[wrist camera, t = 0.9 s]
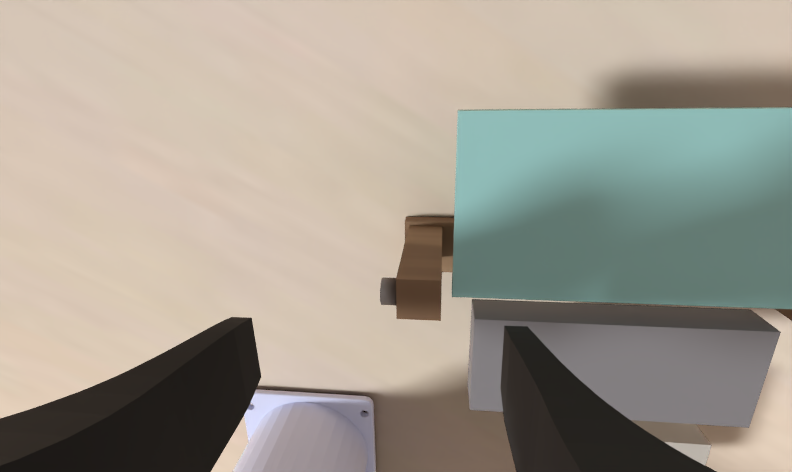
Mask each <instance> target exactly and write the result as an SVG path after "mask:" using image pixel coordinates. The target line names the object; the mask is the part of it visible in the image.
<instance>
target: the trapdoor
mask: <svg viewBox="0 0 792 472" xmlns="http://www.w3.org/2000/svg"><path fill="white" fill-rule="evenodd" d="M452 297H472V298H499V299H526V300H553V301H580V302H607V303H635V304H662V305H689V306H716V307H743V308H771V309H792V107H748V108H623V109H498V110H458V122H457V152H456V182H455V212H454V243H453V273H452ZM504 326H528V328H529V329H530V330H531V331H532V332H533V333H534V334H535V335H536V336H537V337H538V338H539V339H540V340H541V341H542V343H543V344H544V345H545V346H546V347H547V348H548V349H549V350H550V351H551V352H552V353H553V354H554V355H555V356H556V357H557V358H558V360H559V361H560V362H561V363H562V364H563V365H565V366H566V367H567V368H568V369H569V370H570V371H571V372H572V373H573V374H574V375H575V376H576V377H577V378H578V379H579V380H580V381H582V382H583V383H584V384H585V385H586V386H587V387H588V388H590V389H591V390H592V391H593V392H594V393H595V394H597V395H598V396H599V397H600V398H601V399H603V400H604V401H605V402H606V403H608V404H609V405H610V406H612V407H613V408H614V409H616V410H617V411H619V412H620V413H621V414H623V415H624V416H625V417H627V418H628V419H629V420H637V421H653V422H669V423H684V424H700V425H716V426H731V427H747V428H749V426H750V423H751V420H752V417H753V414H754V411H755V408H756V405H757V402H758V399H759V396H760V393H761V390H762V387H763V384H764V381H765V378H766V375H767V372H768V369H769V366H770V363H771V360H772V357H773V354H774V351H775V348H776V345H777V342H778V339H779V336H780V333H781V332H780V331H778V330H777V329H776V328H774V327H773V326H772V325H770V324H769V323H768V322H766V321H765V320H764V319H762V318H761V317H760V316H758V315H757V314H756V313H754V312H753V311H752V310H748V309H721V308H694V307H667V306H641V305H614V304H587V303H560V302H533V301H506V300H479V299H472V310H471V330H470V349H469V369H468V395H469V408H470V410H480V411H496V412H503V406H502V397H501V389H500V386H501V371H502V355H503V340H504Z"/></svg>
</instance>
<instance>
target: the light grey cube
mask: <svg viewBox="0 0 792 472" xmlns="http://www.w3.org/2000/svg"><path fill="white" fill-rule="evenodd" d="M631 421H632V422H634V423H635V424H637V425H638V426H640V427H641V428H643V429H644V430H646V431H647V432H649V433H650V434H652V435H654V436H655V437H657V438H658V439H660V440H662V441H663V442H665V443H666V444H668V445H669V446H671V447H673V448H674V449H676V450H678V451H680V452H681V453H683V454H685V455H687V456H688V457H690V458H692V459H694V460H696V461H697V462H699V463H701V464H703V465H706V462H707V459H708V455H709V452H710V449H711V444H710V442H709V441H708V440H707V438H706V437H705V436H704V434H703V433H702V431H701V430H700V429H699V427H698V426H697V425H696V424H684V423H669V422H653V421H637V420H631Z"/></svg>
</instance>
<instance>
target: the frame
mask: <svg viewBox="0 0 792 472" xmlns="http://www.w3.org/2000/svg"><path fill="white" fill-rule="evenodd" d="M453 243H454V218H452V217H406V220H405V245H404V249H403V253H402V257H401V261H400V265H399V269H398V273H397V277H396V278H382V280H381V288H380V301H381V305H396V307H397V319H415V320H438V321H441V279H442V272H453ZM776 310H777V311H779V312H780V313H782V314H783V315H784V316H786V317H787V318H789V319H790V320H792V309H776Z"/></svg>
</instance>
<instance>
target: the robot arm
mask: <svg viewBox="0 0 792 472" xmlns="http://www.w3.org/2000/svg"><path fill="white" fill-rule="evenodd" d="M260 378H261V373H260V367H259V361H258V355H257V348H256V342H255V336H254V330H253V324H252V318H239V317H231V318H229V319H226V320H224V321H222V322H220V323H218V324H216V325H214V326H212V327H210V328H208V329H207V330H205V331H203V332H201V333H199V334H197V335H196V336H194V337H192V338H190V339H188V340H186V341H185V342H183V343H181V344H179V345H177V346H176V347H174V348H172V349H170V350H168V351H166V352H164V353H162V354H160V355H159V356H157V357H155V358H153V359H151V360H149V361H147V362H145V363H143V364H141V365H139V366H137V367H135V368H133V369H131V370H129V371H127V372H125V373H122V374H120V375H118V376H116V377H114V378H111V379H109V380H107V381H104V382H102V383H100V384H97V385H95V386H93V387H90V388H88V389H85V390H83V391H80V392H78V393H75V394H72V395H69V396H67V397H64V398H61V399H58V400H55V401H53V402H50V403H47V404H44V405H42V406H39V407H36V408H33V409H30V410H27V411H24V412H20V413H17V414H14V415H11V416H8V417H4V418H1V419H0V472H211V470H212V468H213V467H214V465H215V463H216V462H217V460H218V458H219V457H220V455H221V453H222V452H223V450H224V448H225V447H226V445H227V443H228V442H229V440H230V438H231V436H232V435H233V433H234V431H235V430H236V428H237V426H238V425H239V423H240V421H241V419H242V418H243V416H245V422H246V428H247V434H248V440H249V442H248V444H247V446H246V448H245V449H244V451H243V453H242V455H241V457H240V459H239V460H238V462H237V464H236V466H235V468H234V470H233V472H376V455H375V430H374V405H373V401H372V399H371V398H369V397H367V396H355V395H339V394H323V393H307V392H291V391H274V390H258V389H256V388H257V386H258V383H259V381H260ZM500 389H501V397H502V406H503V414H504V422H505V426H506V431H507V435H508V439H509V443H510V447H511V451H512V456H513V460H514V464H515V468H516V472H716V471H714V470H712V469H711V468H709V467H707V466H705V465H703V464H701V463H699V462H697V461H696V460H694V459H692V458H690V457H688V456H687V455H685V454H683V453H681V452H680V451H678V450H676V449H674V448H673V447H671V446H669V445H668V444H666V443H665V442H663V441H662V440H660V439H658V438H657V437H655V436H654V435H652V434H650V433H649V432H647V431H646V430H644V429H643V428H641V427H640V426H638V425H637V424H635V423H634V422H632V421H631V420H629V419H628V418H627V417H625V416H624V415H623V414H621V413H620V412H619V411H617V410H616V409H614V408H613V407H612V406H610V405H609V404H608V403H606V402H605V401H604V400H603V399H601V398H600V397H599V396H598V395H597V394H595V393H594V392H593V391H592V390H591V389H590V388H588V387H587V386H586V385H585V384H584V383H583V382H582V381H580V380H579V379H578V378H577V377H576V376H575V375H574V374H573V373H572V372H571V371H570V370H569V369H568V368H567V367H566V366H565V365H563V364H562V363H561V362H560V361H559V360H558V358H557V357H556V356H555V355H554V354H553V353H552V352H551V351H550V350H549V349H548V348H547V347H546V346H545V345H544V344H543V343H542V341H541V340H540V339H539V338H538V337H537V336H536V335H535V334H534V333H533V332H532V331H531V330H530V329H529V328H528V326H504V340H503V355H502V371H501V386H500ZM250 403H252V404H253V405H251V404H250ZM363 410H365V411H367V412H368V413H365V412H363Z"/></svg>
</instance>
